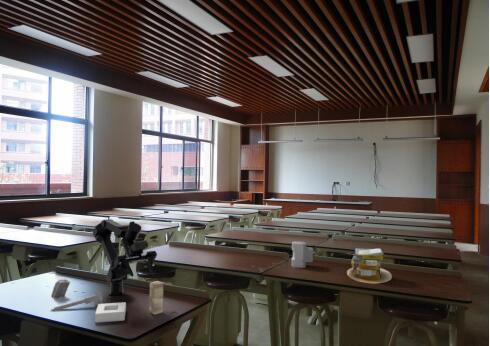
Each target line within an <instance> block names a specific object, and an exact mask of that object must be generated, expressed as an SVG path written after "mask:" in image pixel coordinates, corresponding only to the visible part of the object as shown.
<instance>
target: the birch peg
mask: <svg viewBox="0 0 490 346" xmlns="http://www.w3.org/2000/svg"><path fill="white" fill-rule="evenodd" d="M148 312H149V313H150V314H153V315H154V316H155V315H158V314H161V313H164V282H163V281H159V280H156V281H151V282H149V311H148Z"/></svg>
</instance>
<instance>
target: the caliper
mask: <svg viewBox="0 0 490 346" xmlns="http://www.w3.org/2000/svg"><path fill="white" fill-rule="evenodd" d="M98 300H99V303H98ZM92 302H94V304H95V306H96V307H98V304H103V296H102V293H100V291H98V292H95V294H93V295H90V296H87V297H84V298H82V299H80V300H76V301H72V302H69V303H65V304H61V305H57V306H55V307H53V308H51V309H50V312H52V311H54V312H55V310H57V311H61V310H64V309H67V308H72V307H75V306H78V305H82V304H85V305H88V304H91V303H92Z"/></svg>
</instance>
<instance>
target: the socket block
mask: <svg viewBox="0 0 490 346" xmlns="http://www.w3.org/2000/svg"><path fill="white" fill-rule="evenodd" d="M126 312H127V303H126V301H125V302H123V301H122V302H112V303H111V302H108V303H102V304H101V303H98V306H96V311H95V313H94V323H96V324H97V323H107V322H108V323H109V322H120V321H125V319H126Z"/></svg>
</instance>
